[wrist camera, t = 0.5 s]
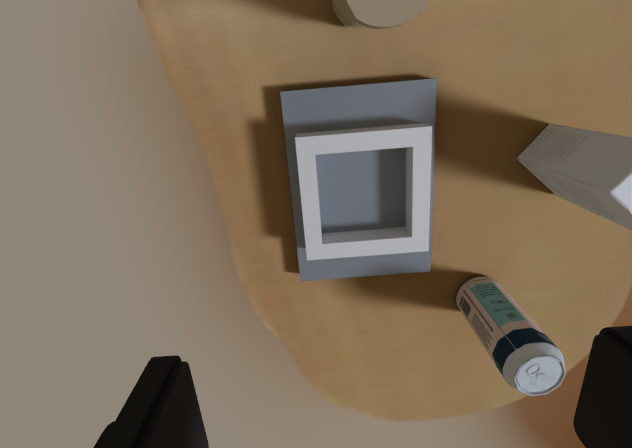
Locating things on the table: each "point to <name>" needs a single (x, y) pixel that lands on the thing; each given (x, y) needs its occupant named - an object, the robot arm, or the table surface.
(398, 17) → the handle
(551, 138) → the skincare box
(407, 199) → the socket board
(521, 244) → the table surface
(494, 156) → the table surface
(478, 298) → the beer can
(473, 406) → the table surface
